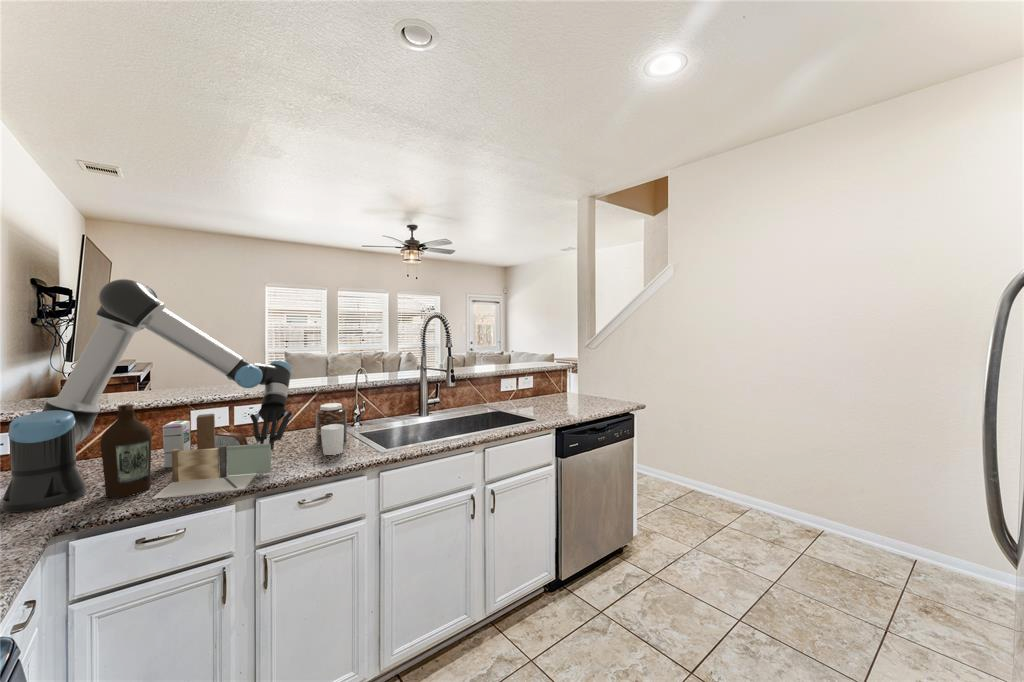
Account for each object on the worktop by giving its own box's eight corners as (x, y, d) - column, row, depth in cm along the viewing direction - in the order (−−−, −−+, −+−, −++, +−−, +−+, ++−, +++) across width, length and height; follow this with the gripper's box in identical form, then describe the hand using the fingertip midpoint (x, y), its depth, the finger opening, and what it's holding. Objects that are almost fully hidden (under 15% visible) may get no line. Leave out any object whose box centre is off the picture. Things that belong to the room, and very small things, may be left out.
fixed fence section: (171, 483, 123) (170, 451, 122) (174, 481, 125) (173, 449, 124) (225, 478, 127) (225, 446, 127) (227, 476, 129) (227, 445, 129)
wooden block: (180, 475, 130) (178, 419, 129) (182, 471, 134) (180, 416, 133) (215, 469, 135) (213, 415, 134) (216, 465, 138) (214, 413, 138)
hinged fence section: (227, 475, 127) (226, 447, 127) (229, 474, 129) (228, 446, 128) (270, 472, 130) (269, 444, 130) (271, 471, 132) (270, 443, 131)
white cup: (325, 458, 147) (324, 430, 146) (318, 452, 153) (318, 426, 152) (347, 453, 152) (347, 427, 152) (340, 448, 158) (339, 423, 158)
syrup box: (184, 466, 138) (183, 423, 137) (163, 468, 136) (162, 424, 136) (192, 460, 143) (190, 419, 143) (171, 462, 142) (170, 421, 141)
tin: (248, 455, 149) (248, 433, 149) (241, 458, 146) (240, 435, 146) (216, 452, 153) (215, 430, 153) (208, 455, 150) (207, 432, 150)
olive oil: (96, 494, 115) (92, 406, 114) (143, 481, 124) (141, 400, 123) (111, 502, 110) (108, 410, 109) (160, 488, 119) (157, 403, 118)
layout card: (151, 499, 112) (151, 497, 112) (176, 480, 126) (176, 478, 126) (244, 489, 119) (244, 488, 119) (258, 472, 133) (258, 470, 132)
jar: (352, 441, 168) (351, 405, 167) (323, 447, 160) (322, 409, 159) (339, 435, 176) (339, 401, 176) (311, 441, 168) (310, 405, 167)
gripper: (296, 403, 152) (288, 462, 137) (256, 405, 148) (243, 466, 133) (293, 391, 146) (285, 451, 131) (251, 393, 142) (238, 455, 127)
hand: (264, 459), depth 132 cm, fingers closed
